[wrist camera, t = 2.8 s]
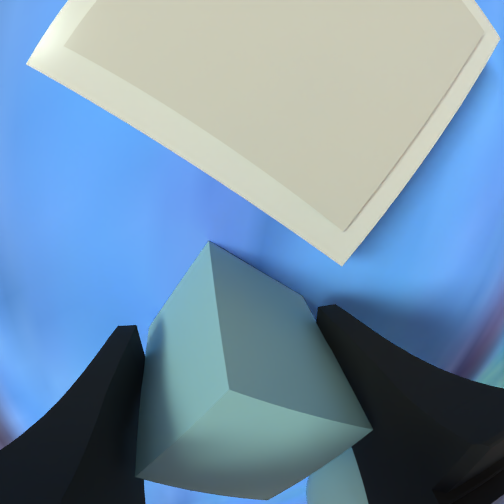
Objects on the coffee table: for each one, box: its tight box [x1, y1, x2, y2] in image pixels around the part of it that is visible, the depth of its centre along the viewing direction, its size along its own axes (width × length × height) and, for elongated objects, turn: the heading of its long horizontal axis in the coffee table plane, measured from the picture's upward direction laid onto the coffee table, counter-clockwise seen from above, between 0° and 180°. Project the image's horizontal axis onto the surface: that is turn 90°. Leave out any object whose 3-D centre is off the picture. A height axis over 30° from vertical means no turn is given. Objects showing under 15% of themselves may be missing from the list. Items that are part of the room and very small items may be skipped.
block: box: [135, 241, 373, 500], centre depth 9 cm, size 4×4×6 cm
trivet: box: [27, 0, 500, 266], centre depth 7 cm, size 10×10×3 cm
